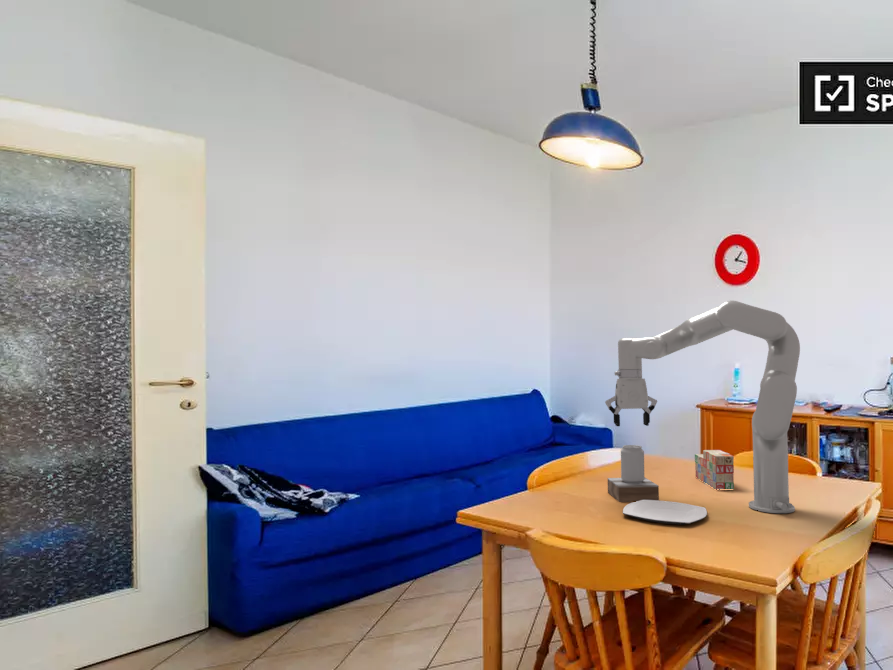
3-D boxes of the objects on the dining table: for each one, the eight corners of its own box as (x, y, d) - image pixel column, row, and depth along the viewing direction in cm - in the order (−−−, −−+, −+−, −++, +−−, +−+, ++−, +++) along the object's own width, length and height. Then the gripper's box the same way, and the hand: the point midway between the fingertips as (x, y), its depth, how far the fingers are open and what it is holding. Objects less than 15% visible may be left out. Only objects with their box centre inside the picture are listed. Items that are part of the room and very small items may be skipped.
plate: (638, 503, 202) (638, 497, 202) (714, 513, 189) (714, 507, 189) (613, 519, 184) (613, 513, 184) (695, 532, 170) (695, 525, 170)
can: (618, 479, 214) (618, 444, 214) (641, 479, 213) (640, 444, 214) (624, 484, 206) (623, 447, 207) (647, 484, 206) (646, 447, 206)
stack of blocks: (695, 478, 238) (694, 445, 238) (711, 478, 238) (711, 445, 238) (716, 491, 217) (715, 455, 217) (734, 491, 217) (733, 455, 217)
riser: (658, 501, 203) (658, 485, 204) (619, 501, 203) (618, 486, 203) (645, 491, 216) (644, 477, 217) (607, 492, 216) (607, 478, 216)
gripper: (608, 375, 207) (609, 427, 206) (659, 374, 207) (661, 426, 207) (601, 374, 214) (603, 424, 214) (651, 373, 215) (653, 423, 214)
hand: (631, 425), depth 210 cm, fingers open, 9 cm apart
